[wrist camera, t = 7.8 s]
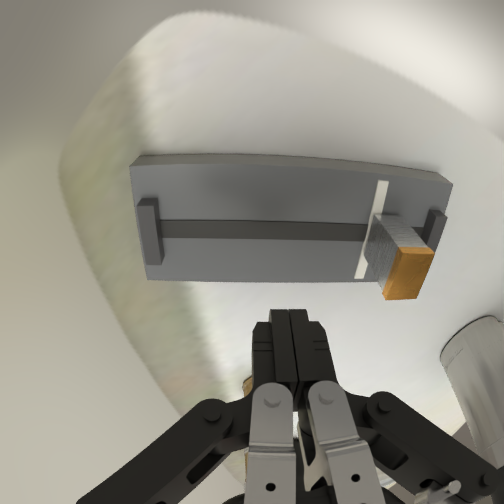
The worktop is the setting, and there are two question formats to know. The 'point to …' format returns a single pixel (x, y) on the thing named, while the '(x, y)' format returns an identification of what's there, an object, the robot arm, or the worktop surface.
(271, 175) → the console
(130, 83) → the worktop surface
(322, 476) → the robot arm
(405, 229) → the fader knob
